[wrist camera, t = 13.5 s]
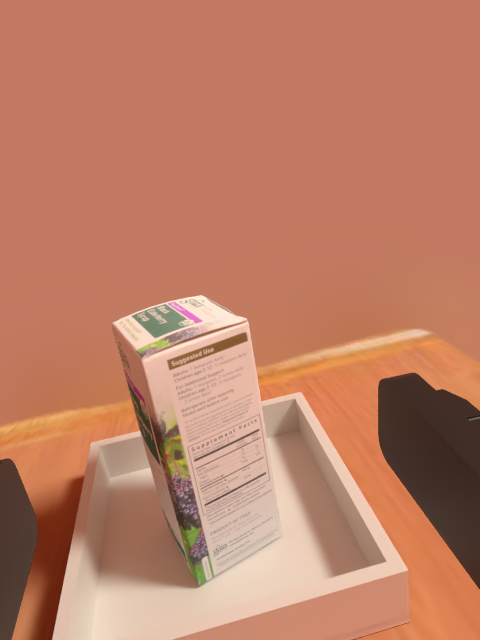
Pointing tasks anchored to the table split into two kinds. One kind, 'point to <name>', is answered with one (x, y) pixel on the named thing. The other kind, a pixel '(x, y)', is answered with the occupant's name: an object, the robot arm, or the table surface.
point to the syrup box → (202, 429)
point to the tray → (248, 575)
